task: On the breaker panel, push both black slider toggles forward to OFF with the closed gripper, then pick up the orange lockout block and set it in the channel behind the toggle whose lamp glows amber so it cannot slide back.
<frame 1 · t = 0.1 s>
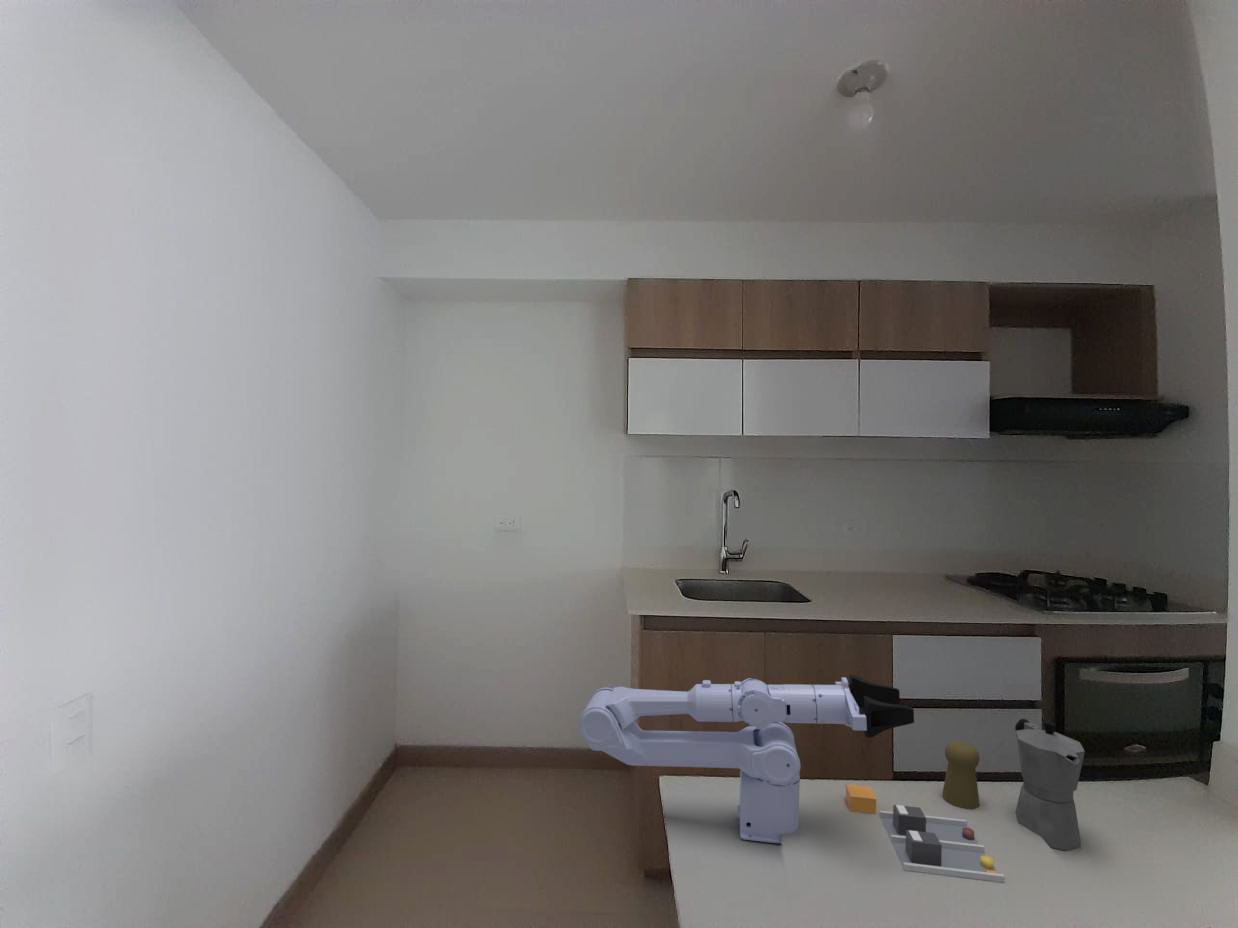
hand: (905, 705, 97), 22 cm above the countertop, tool horizontal, fingers open, 7 cm apart
coffeepot: (1042, 830, 103), on the countertop
lockout block: (860, 815, 106), on the countertop
cork: (960, 809, 108), on the countertop
toggle B: (909, 820, 99), point 3 cm above the countertop, slide at 0.0 cm, touching breaker panel
breaker panel: (936, 855, 95), on the countertop
toggle A: (923, 847, 92), point 3 cm above the countertop, slide at 0.0 cm, touching breaker panel
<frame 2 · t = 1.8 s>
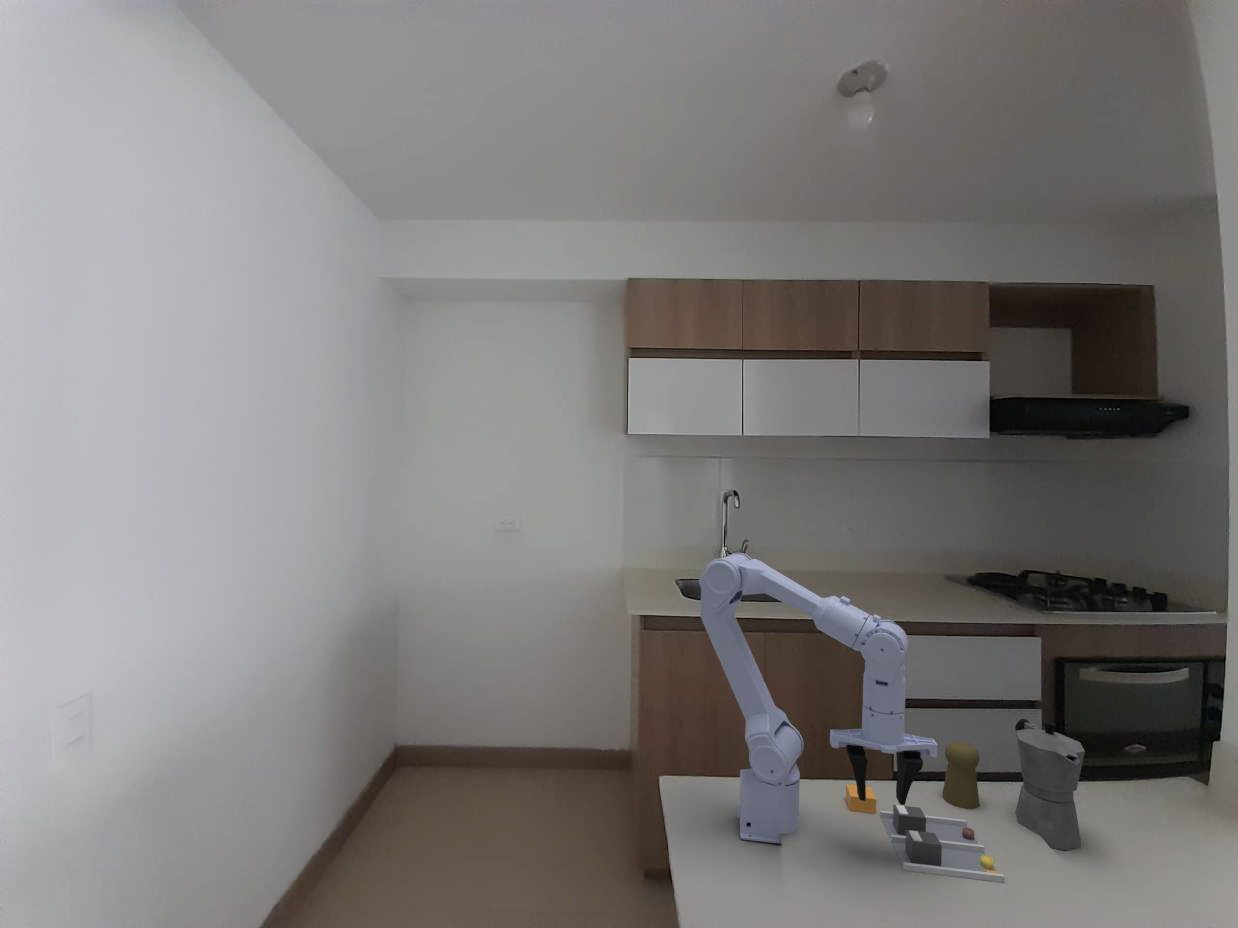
hand: (880, 799, 93), 9 cm above the countertop, tool pointing down, fingers open, 5 cm apart
nothing on the countertop moved.
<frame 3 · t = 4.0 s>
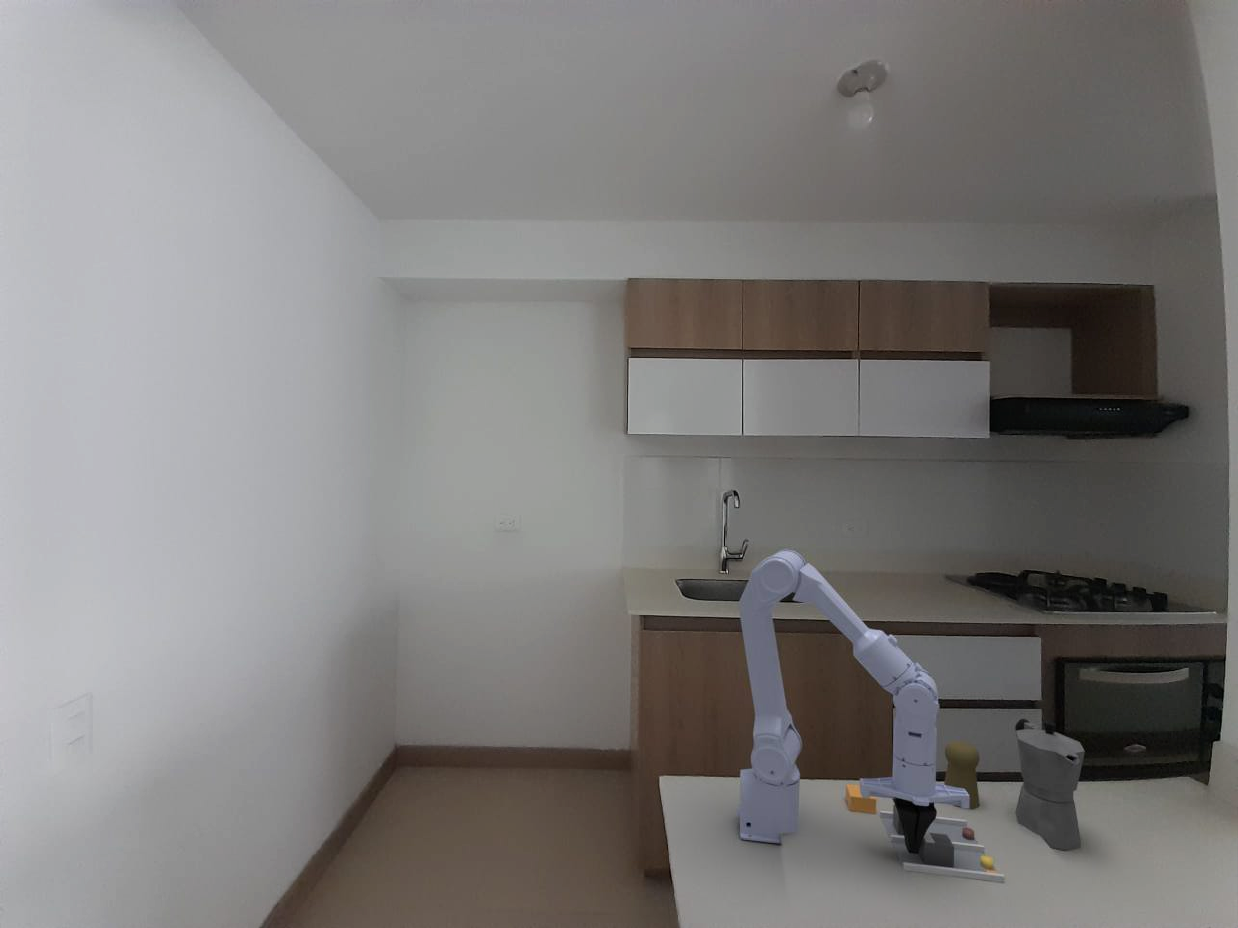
hand: (911, 849, 92), 3 cm above the countertop, tool pointing down, fingers closed
toggle A: (935, 848, 92), point 3 cm above the countertop, slide at 1.7 cm, touching breaker panel, gripper
everything else where it was.
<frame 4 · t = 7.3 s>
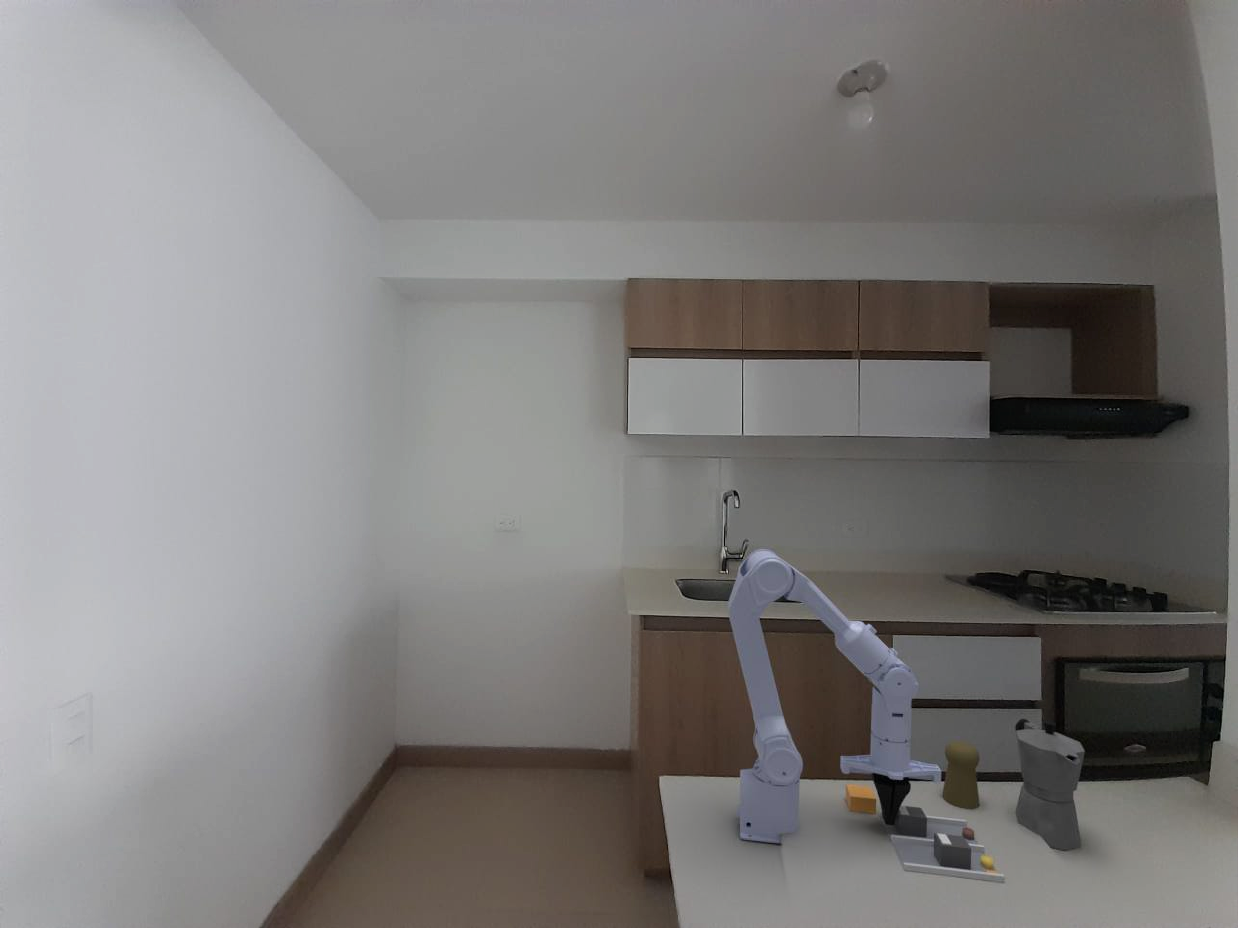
hand: (888, 821, 99), 3 cm above the countertop, tool pointing down, fingers closed
toggle B: (910, 820, 99), point 3 cm above the countertop, slide at 0.1 cm, touching breaker panel, gripper
toggle A: (952, 850, 91), point 3 cm above the countertop, slide at 3.9 cm, touching breaker panel
everything else where it was.
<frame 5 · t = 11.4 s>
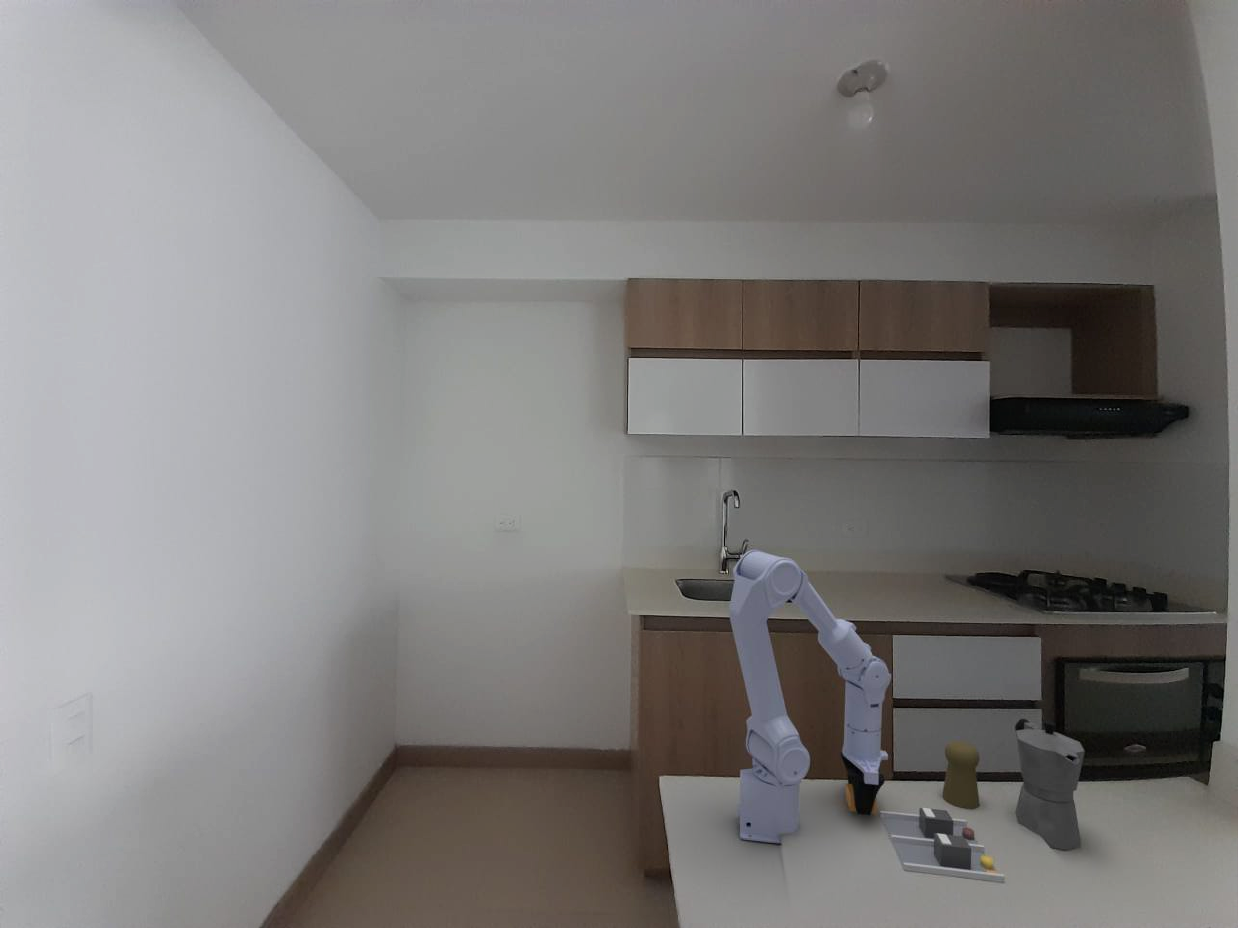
hand: (860, 805, 106), 1 cm above the countertop, tool pointing down, fingers closed on lockout block, 4 cm apart
lockout block: (860, 814, 106), on the countertop, touching gripper
toggle B: (935, 823, 98), point 3 cm above the countertop, slide at 3.9 cm, touching breaker panel
everything else where it was.
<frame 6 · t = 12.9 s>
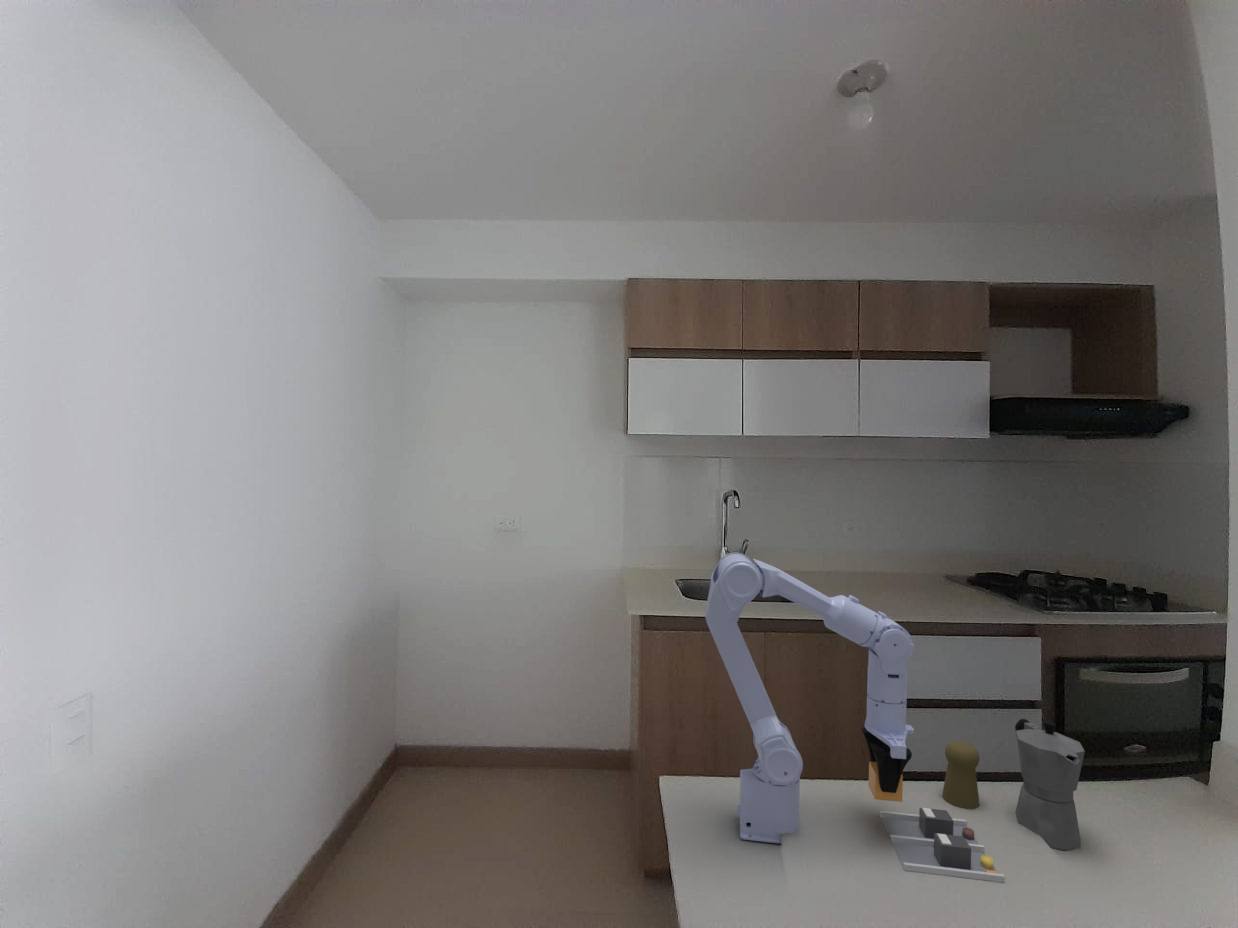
hand: (884, 783, 99), 8 cm above the countertop, tool pointing down, fingers closed on lockout block, 4 cm apart
lockout block: (884, 793, 99), point 7 cm above the countertop, touching gripper
everything else where it was.
when the fingers open (4 cm above the countertop, at t = 14.5 s): lockout block drops 1 cm, resting on breaker panel.
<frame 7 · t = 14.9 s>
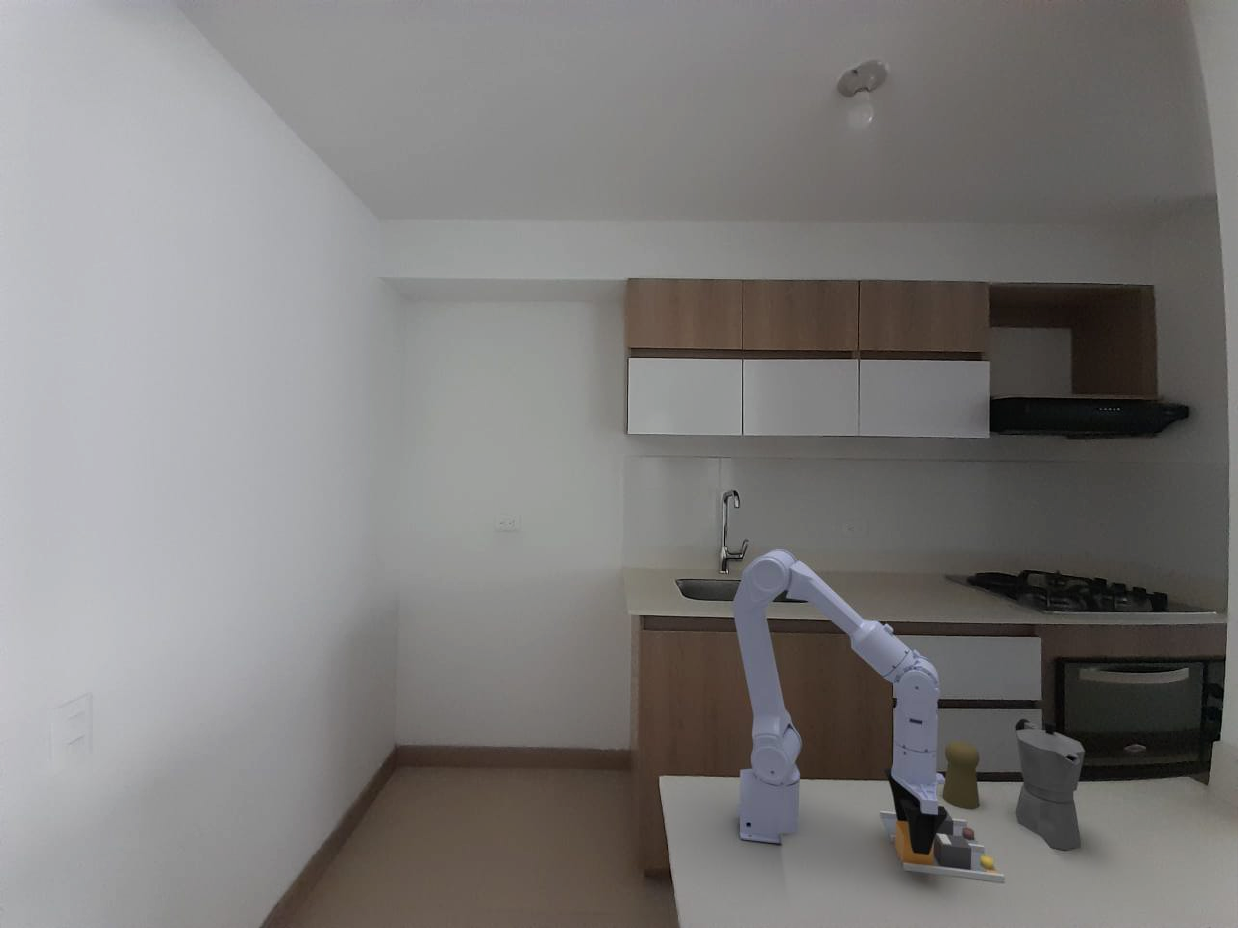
hand: (912, 836, 92), 4 cm above the countertop, tool pointing down, fingers open, 7 cm apart
lockout block: (913, 856, 92), point 1 cm above the countertop, touching breaker panel
everything else where it was.
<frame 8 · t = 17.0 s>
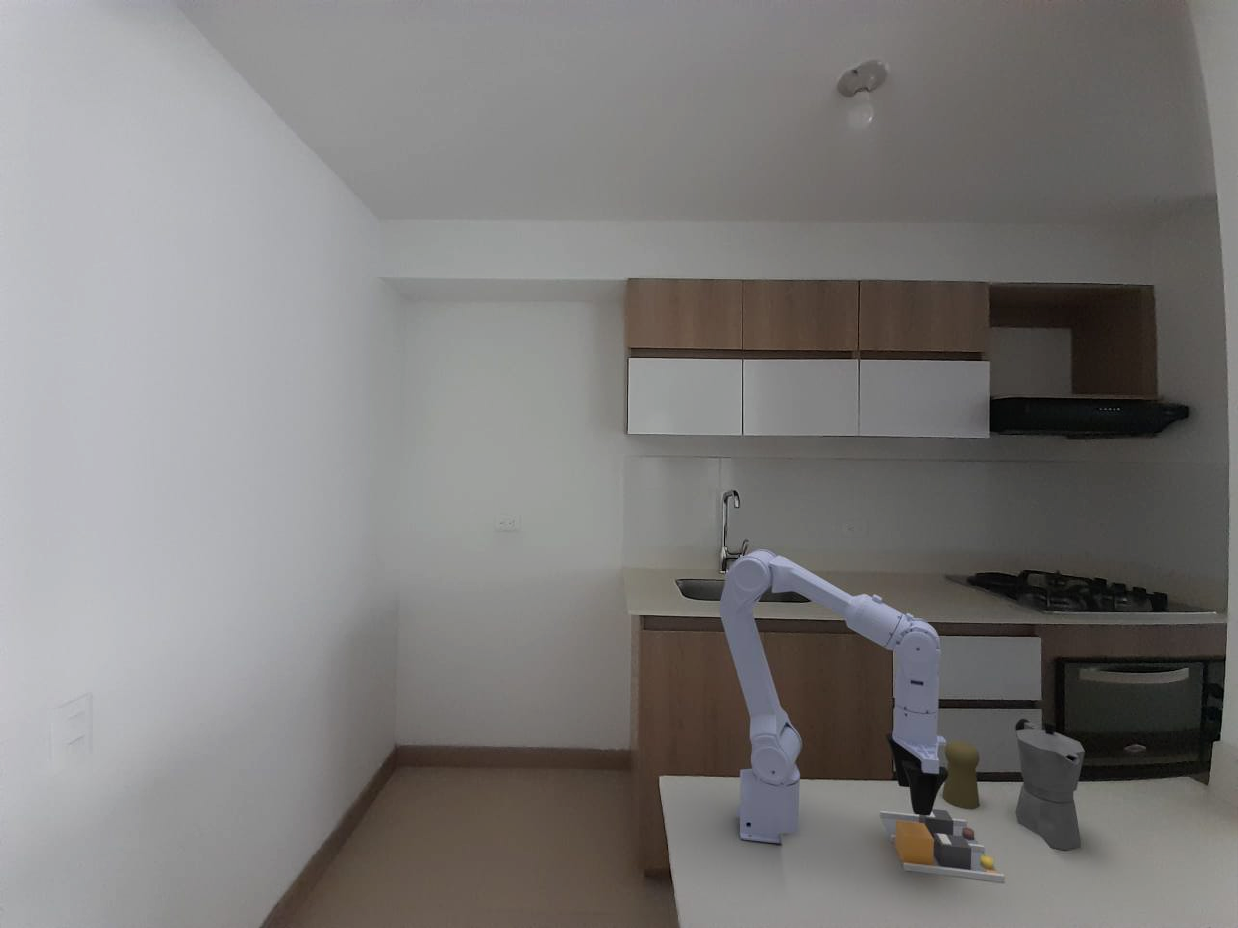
hand: (913, 799, 92), 10 cm above the countertop, tool pointing down, fingers open, 7 cm apart
nothing on the countertop moved.
at the end: toggle A slide at 3.9 cm; toggle B slide at 3.9 cm; lockout block 0.3 cm from the target spot on the breaker panel, point 1.5 cm above the breaker panel's base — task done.
